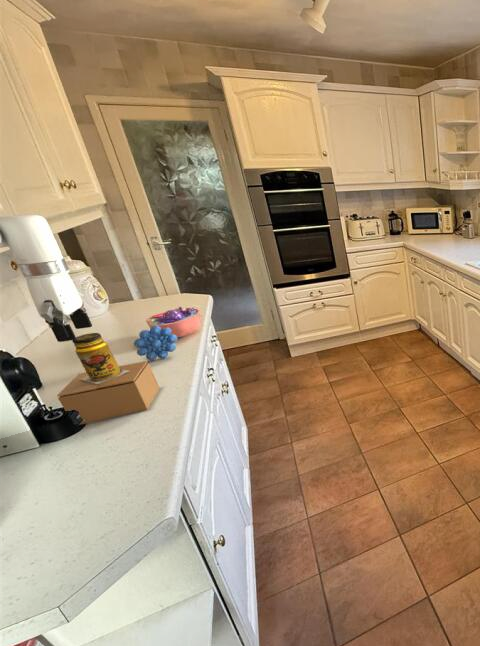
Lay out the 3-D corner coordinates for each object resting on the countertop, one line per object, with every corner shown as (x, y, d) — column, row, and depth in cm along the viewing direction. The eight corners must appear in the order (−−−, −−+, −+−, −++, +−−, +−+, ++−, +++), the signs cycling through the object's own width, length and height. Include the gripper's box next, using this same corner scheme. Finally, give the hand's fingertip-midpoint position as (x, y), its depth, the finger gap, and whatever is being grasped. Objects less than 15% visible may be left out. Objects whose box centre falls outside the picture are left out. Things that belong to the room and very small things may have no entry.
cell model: (208, 322, 169) (199, 297, 164) (204, 338, 153) (194, 311, 148) (158, 331, 161) (147, 305, 156) (149, 349, 145) (136, 320, 140)
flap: (57, 396, 98) (56, 395, 98) (79, 374, 109) (78, 373, 109) (96, 389, 101) (95, 387, 101) (114, 368, 112) (113, 367, 112)
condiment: (98, 384, 103) (76, 343, 98) (78, 380, 105) (56, 339, 100) (130, 371, 109) (111, 332, 104) (111, 367, 111) (92, 328, 107)
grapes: (184, 349, 144) (172, 319, 139) (183, 356, 139) (170, 324, 134) (143, 358, 138) (129, 326, 133) (140, 365, 133) (125, 333, 128)
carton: (74, 426, 102) (56, 395, 98) (93, 401, 112) (78, 373, 109) (147, 409, 108) (133, 380, 104) (159, 387, 119) (147, 360, 115)
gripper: (41, 263, 100) (71, 325, 107) (0, 278, 86) (38, 349, 93) (81, 260, 103) (108, 321, 110) (48, 274, 89) (81, 343, 96)
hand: (76, 333), depth 101 cm, fingers open, 9 cm apart
